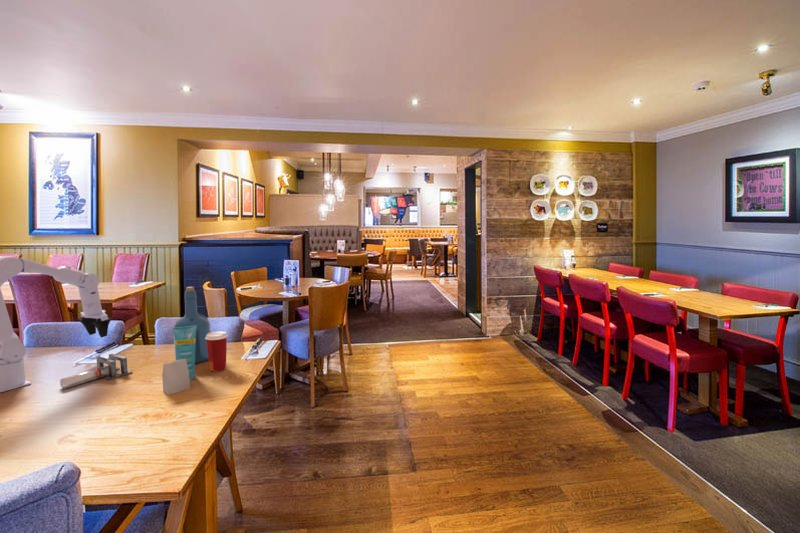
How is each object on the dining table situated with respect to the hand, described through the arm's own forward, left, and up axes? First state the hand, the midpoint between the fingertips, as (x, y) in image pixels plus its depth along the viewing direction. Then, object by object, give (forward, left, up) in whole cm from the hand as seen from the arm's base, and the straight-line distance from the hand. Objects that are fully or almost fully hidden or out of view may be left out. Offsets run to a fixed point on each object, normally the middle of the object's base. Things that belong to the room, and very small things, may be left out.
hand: (98, 335), depth 156 cm
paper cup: (+15, -50, -11) cm, 53 cm away
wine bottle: (+18, -32, -11) cm, 39 cm away
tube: (+4, -48, -11) cm, 49 cm away
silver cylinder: (-14, -20, -10) cm, 26 cm away
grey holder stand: (-8, -20, -10) cm, 24 cm away
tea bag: (-4, -54, -11) cm, 55 cm away
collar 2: (-4, -20, -10) cm, 23 cm away
